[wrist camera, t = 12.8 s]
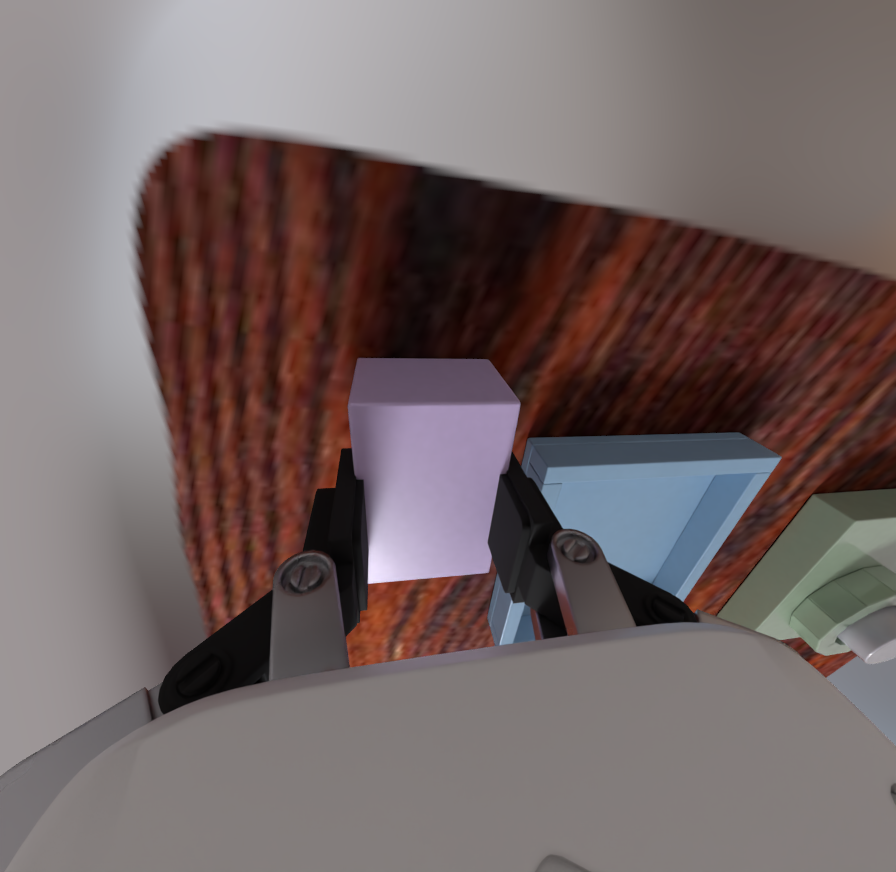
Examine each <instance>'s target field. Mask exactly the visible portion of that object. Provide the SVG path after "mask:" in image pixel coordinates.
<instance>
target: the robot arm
mask: <svg viewBox="0 0 896 872" xmlns="http://www.w3.org/2000/svg"><path fill="white" fill-rule="evenodd" d="M487 543H488V546H489V549H490V552H491V555H492V558H493V561H494V564H495V567H496V570H497V573H498V575H499V578H500V581H501V584H502V587H503V590H504V592H505V593H510V596H511V599H512V601H513V604H514V603H523V602H524V603H525V605H527V606H529V607H530V614H531V619H532V624H533V630H534V635H535V641H528V642H521V643H514V644H507V645H500V646H493V647H486V648H479V649H473V650H466V651H459V652H452V653H445V654H438V655H432V656H425V657H418V658H412V659H405V660H399V661H392V662H385V663H379V664H372V665H365V666H359V667H352V668H350V665H349V658H348V650H347V643H346V636H347V635H348V634H349V633H350V632H351V631H352V630H353V629H354V628H355V627H356V626H357V623H360V611H363V610H367V599H368V557H369V549H368V535H367V521H366V507H365V492H364V479H363V480H357V479H356V476H355V474H354V465H353V455H352V448H347V449H342V450H341V456H340V462H339V469H338V475H337V482H336V488H325V489H317V491H316V495H315V499H314V504H313V508H312V513H311V517H310V521H309V526H308V530H307V535H306V539H305V544H304V548H303V552H300V553H297V554H295V555H293V556H291V557H290V558H288V559H287V560H285V561H284V562H283V563H282V564H281V565H280V566H279V568H278V570H277V571H276V573H275V576H274V580H273V590H271V591H270V592H269V593H267V594H266V595H265V596H263V597H262V598H261V599H259V600H258V601H257V602H255V603H254V604H253V605H251V606H250V607H249V608H247V609H246V610H245V611H243V612H242V613H241V614H239V615H238V616H237V617H235V618H234V619H233V620H231V621H230V622H229V623H227V624H226V625H225V626H223V627H222V628H221V629H219V630H218V631H217V632H215V633H214V634H213V635H211V636H210V637H209V638H207V639H206V640H205V641H203V642H202V643H201V644H199V645H198V646H197V647H195V648H194V649H193V650H191V651H190V652H189V653H187V654H186V655H185V656H184V657H183V658H182V659H181V660H179V661H178V662H177V663H176V664H175V665H174V666H173V667H172V669H171V670H170V671H169V673H168V674H167V675H166V676H165V678H164V681H163V682H162V683H160V684H159V685H157V686H156V687H154V688H152V689H150V690H149V691H148V690H147V689H146V688H145V687H144V688H143V689H141V690H139V691H138V692H136V693H134V694H133V695H131V696H129V697H128V698H126V699H124V700H123V701H121V702H119V703H118V704H116V705H114V706H113V707H111V708H109V709H108V710H106V711H104V712H103V713H101V714H99V715H98V716H96V717H94V718H93V719H91V720H89V721H88V722H86V723H84V724H83V725H81V726H79V727H78V728H76V729H74V730H73V731H71V732H69V733H68V734H66V735H64V736H63V737H61V738H59V739H58V740H56V741H54V742H53V743H51V744H49V745H48V746H46V747H44V748H43V749H41V750H39V751H38V752H36V753H34V754H33V755H31V756H29V757H27V758H26V759H24V760H22V761H21V762H19V763H18V764H16V765H15V766H14V767H12V768H11V769H9V770H8V771H7V772H5V773H4V774H3V775H1V776H0V872H896V746H895V745H894V744H893V743H892V742H891V741H890V740H889V739H888V738H887V737H886V736H885V735H884V734H883V733H882V732H881V731H880V730H879V729H878V728H877V727H876V726H875V725H874V724H873V723H872V722H871V721H870V720H869V719H868V718H867V717H866V716H865V715H864V714H863V713H862V712H861V711H860V710H859V709H858V708H857V707H856V706H855V705H854V704H853V703H852V702H851V701H850V700H849V699H848V698H847V697H846V696H845V695H843V694H842V693H841V692H840V691H839V690H838V689H837V688H836V687H835V686H834V685H832V684H831V682H829V681H828V680H827V679H826V678H825V677H824V676H823V675H822V674H821V673H820V672H818V671H817V670H816V669H815V668H814V667H813V666H812V665H810V664H809V663H808V662H807V661H805V660H804V659H803V658H802V657H801V656H800V654H799V653H798V652H797V651H795V650H794V649H792V648H791V647H790V646H788V645H787V644H786V643H784V642H781V641H779V640H777V639H775V638H773V637H770V636H768V635H765V634H762V633H760V632H757V631H754V630H751V629H749V628H746V627H743V626H741V625H738V624H735V623H732V622H730V621H727V620H724V619H722V618H719V617H716V616H714V615H711V614H708V613H705V612H703V611H700V610H696V612H695V613H693V612H692V611H691V610H690V609H689V607H688V606H687V605H686V604H685V603H684V602H683V601H681V600H680V599H679V598H677V597H676V596H674V595H673V594H671V593H669V592H667V591H665V590H663V589H661V588H659V587H657V586H655V585H653V584H651V583H649V582H647V581H645V580H643V579H641V578H639V577H637V576H635V575H633V574H631V573H629V572H627V571H625V570H623V569H621V568H619V567H617V566H615V565H613V564H611V563H609V562H607V560H606V558H605V555H604V553H603V551H602V549H601V547H600V546H599V544H598V543H597V542H596V541H595V540H594V539H593V538H592V537H591V536H589V535H587V534H586V533H584V532H581V531H579V530H575V529H563V528H562V526H561V524H560V523H559V521H558V519H557V518H556V516H555V514H554V513H553V511H552V509H551V508H550V506H549V504H548V503H547V501H546V499H545V498H544V496H543V494H542V493H541V491H540V490H539V488H538V486H537V485H536V483H535V481H534V480H533V479H532V478H530V477H527V476H526V474H525V473H524V471H523V469H522V467H521V466H520V464H519V462H518V461H517V459H516V457H515V455H514V454H513V452H511V458H510V463H509V468H508V470H507V474H500V477H499V482H498V488H497V493H496V499H495V504H494V510H493V515H492V521H491V526H490V531H489V537H488V542H487Z"/></svg>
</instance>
